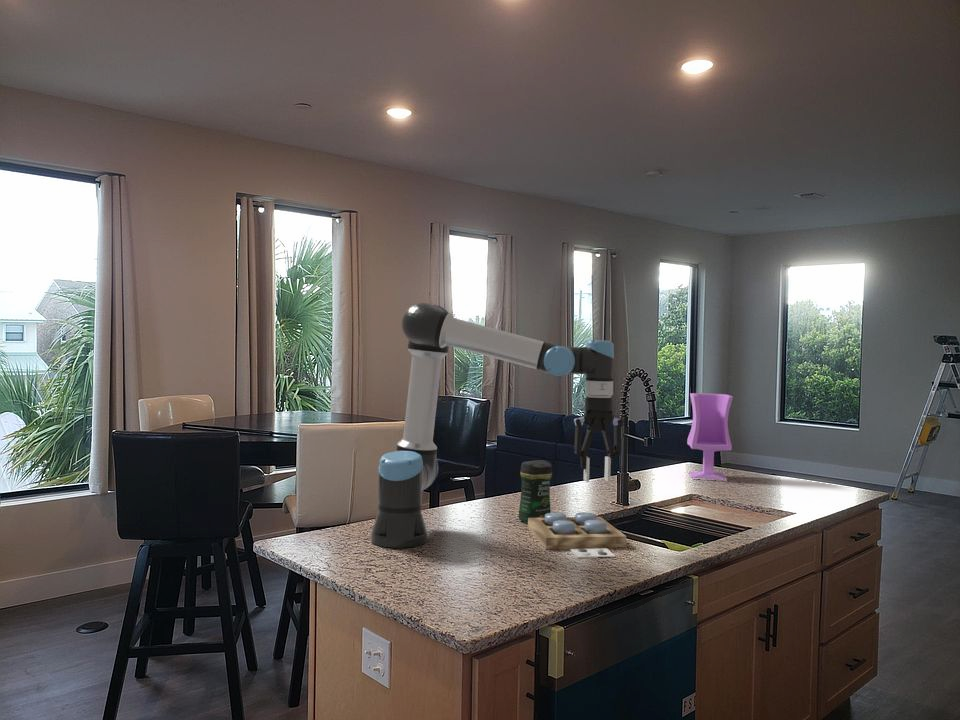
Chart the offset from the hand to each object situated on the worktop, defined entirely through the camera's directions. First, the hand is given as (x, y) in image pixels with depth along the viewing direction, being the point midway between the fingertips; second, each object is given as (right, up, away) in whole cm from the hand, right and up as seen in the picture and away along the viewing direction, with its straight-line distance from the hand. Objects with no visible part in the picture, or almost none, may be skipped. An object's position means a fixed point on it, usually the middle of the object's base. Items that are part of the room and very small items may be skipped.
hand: (596, 480), depth 197 cm
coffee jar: (-15, -16, +22) cm, 31 cm away
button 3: (-2, -14, +9) cm, 17 cm away
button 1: (-11, -14, +8) cm, 19 cm away
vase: (+64, -17, +104) cm, 123 cm away
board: (-5, -17, +4) cm, 18 cm away
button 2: (-9, -14, -1) cm, 17 cm away
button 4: (0, -14, 0) cm, 14 cm away
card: (-3, -17, -12) cm, 21 cm away
